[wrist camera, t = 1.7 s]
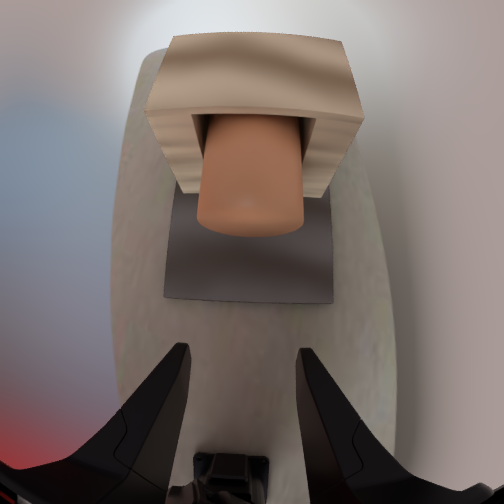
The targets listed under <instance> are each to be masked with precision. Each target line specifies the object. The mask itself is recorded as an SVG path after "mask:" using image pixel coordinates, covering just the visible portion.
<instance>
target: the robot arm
mask: <svg viewBox="0 0 504 504" xmlns="http://www.w3.org/2000/svg"><path fill="white" fill-rule="evenodd" d="M190 370H191V354H190V349H189V345H188V344H187V343H176V344H175V345H174V346H173V347H172V349H171V350H170V351H169V352H168V353H167V354H166V356H165V357H164V358H163V359H162V360H161V361H160V363H159V364H158V365H157V366H156V367H155V368H154V370H153V371H152V372H151V373H150V374H149V375H148V377H147V378H146V379H145V380H144V381H143V382H142V384H141V385H140V386H139V387H138V388H137V389H136V391H135V392H134V393H133V394H132V395H131V396H130V397H129V399H128V400H127V401H126V402H125V403H124V404H123V406H122V407H121V409H119V410H118V411H117V412H116V414H115V415H114V416H113V417H112V418H111V419H110V420H109V421H108V422H107V424H106V425H105V426H104V427H102V428H101V429H100V430H99V431H98V432H97V433H96V434H95V435H94V436H93V437H92V438H90V439H89V440H88V441H87V442H86V443H85V444H84V445H83V446H81V447H80V448H79V449H78V450H77V451H76V452H74V453H73V454H72V455H70V456H69V457H67V458H65V459H62V460H59V461H55V462H52V463H48V464H44V465H40V466H36V467H32V468H27V469H21V470H19V469H14V468H12V467H11V466H9V465H7V464H6V463H4V462H3V461H1V460H0V504H266V499H267V487H268V474H269V459H268V458H267V457H265V456H246V455H244V454H225V453H216V454H209V453H195V455H194V457H193V466H194V480H193V481H192V482H190V483H189V484H188V485H186V486H172V487H170V488H169V489H168V486H169V481H170V476H171V471H172V467H173V462H174V457H175V453H176V448H177V443H178V439H179V434H180V430H181V425H182V421H183V417H184V412H185V408H186V403H187V398H188V389H189V380H190ZM296 401H297V411H298V417H299V424H300V431H301V438H302V445H303V452H304V459H305V466H306V474H307V481H308V489H309V497H310V504H504V485H502V486H500V487H498V488H496V489H494V490H492V489H491V488H490V487H489V486H487V485H485V484H483V483H478V484H476V485H474V486H472V487H470V488H468V489H465V490H463V491H455V490H451V489H448V488H445V487H442V486H440V485H437V484H434V483H431V482H429V481H426V480H424V479H421V478H418V477H416V476H414V475H412V474H411V473H409V472H408V471H407V470H406V469H404V468H403V467H402V466H401V465H400V464H399V462H398V461H397V460H396V459H395V458H394V457H393V456H392V455H391V454H390V453H389V452H388V451H387V450H386V449H385V448H384V447H383V446H382V444H381V443H380V442H379V441H378V440H377V439H376V438H375V436H374V435H373V434H372V433H371V431H370V430H369V429H368V427H367V426H366V425H365V423H364V422H363V420H360V419H361V418H360V416H359V415H358V413H357V412H356V411H355V409H354V408H353V406H352V405H351V404H350V402H349V401H348V399H347V398H346V397H345V395H344V394H343V392H342V391H341V389H340V388H339V387H338V385H337V384H336V382H335V381H334V380H333V378H332V377H331V375H330V374H329V372H328V371H327V370H326V368H325V367H324V365H323V364H322V363H321V361H320V360H319V358H318V357H317V355H316V354H315V353H314V351H313V350H312V349H311V348H300V349H299V351H298V355H297V360H296ZM197 457H201V458H202V459H198V458H197ZM263 460H264V461H266V462H265V463H261V461H263Z"/></svg>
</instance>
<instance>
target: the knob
mask: <svg viewBox="0 0 504 504" xmlns="http://www.w3.org/2000/svg"><path fill="white" fill-rule="evenodd" d="M197 221H198V222H199V223H200V224H201V225H202V226H204V227H205V228H207V229H210V230H212V231H215V232H218V233H222V234H227V235H232V236H241V237H270V236H278V235H283V234H287V233H290V232H293V231H295V230H297V229H299V228H300V227H301V226H302V225H303V223H304V208H303V182H302V161H301V144H300V129H299V119H298V116H286V115H269V114H233V113H224V114H211V115H210V118H209V125H208V131H207V138H206V145H205V152H204V159H203V167H202V175H201V183H200V192H199V200H198V210H197Z"/></svg>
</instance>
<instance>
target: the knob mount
mask: <svg viewBox="0 0 504 504" xmlns="http://www.w3.org/2000/svg"><path fill="white" fill-rule="evenodd" d="M144 112H145V115H146V117H147V119H148V121H149V123H150V125H151V127H152V130H153V132H154V134H155V136H156V138H157V140H158V142H159V144H160V147H161V149H162V151H163V153H164V155H165V157H166V159H167V161H168V163H169V165H170V167H171V169H172V171H173V173H174V175H175V177H176V179H177V181H176V188H175V194H174V201H173V208H172V216H171V224H170V232H169V241H168V250H167V260H166V271H165V284H164V297H166V298H175V299H190V300H207V301H227V302H252V303H293V304H331V303H333V248H332V225H331V208H330V194H329V183H330V181H331V179H332V177H333V176H334V174H335V172H336V170H337V168H338V167H339V165H340V163H341V161H342V159H343V157H344V155H345V154H346V152H347V150H348V148H349V146H350V144H351V142H352V141H353V139H354V137H355V135H356V133H357V131H358V129H359V127H360V125H361V124H362V121H363V120H364V115H363V111H362V107H361V103H360V99H359V96H358V92H357V88H356V85H355V82H354V78H353V75H352V72H351V69H350V66H349V62H348V60H347V57H346V54H345V51H344V48H343V45H342V42H341V41H335V40H330V39H324V38H318V37H309V36H302V35H292V34H280V33H262V32H219V33H203V34H189V35H181V36H173V38H172V41H171V43H170V45H169V47H168V50H167V52H166V54H165V56H164V59H163V61H162V64H161V66H160V69H159V71H158V74H157V76H156V79H155V81H154V84H153V87H152V89H151V92H150V95H149V98H148V101H147V104H146V106H145V109H144ZM224 113H233V114H269V115H286V116H298V119H299V129H300V144H301V161H302V182H303V208H304V223H303V225H302V226H301V227H300V228H299V229H297V230H295V231H293V232H290V233H287V234H283V235H278V236H270V237H241V236H232V235H227V234H222V233H218V232H215V231H212V230H210V229H207V228H205V227H204V226H202V225H201V224H200V223H199V222H198V221H197V210H198V200H199V192H200V183H201V175H202V167H203V159H204V152H205V145H206V138H207V131H208V125H209V118H210V115H211V114H224Z"/></svg>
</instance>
